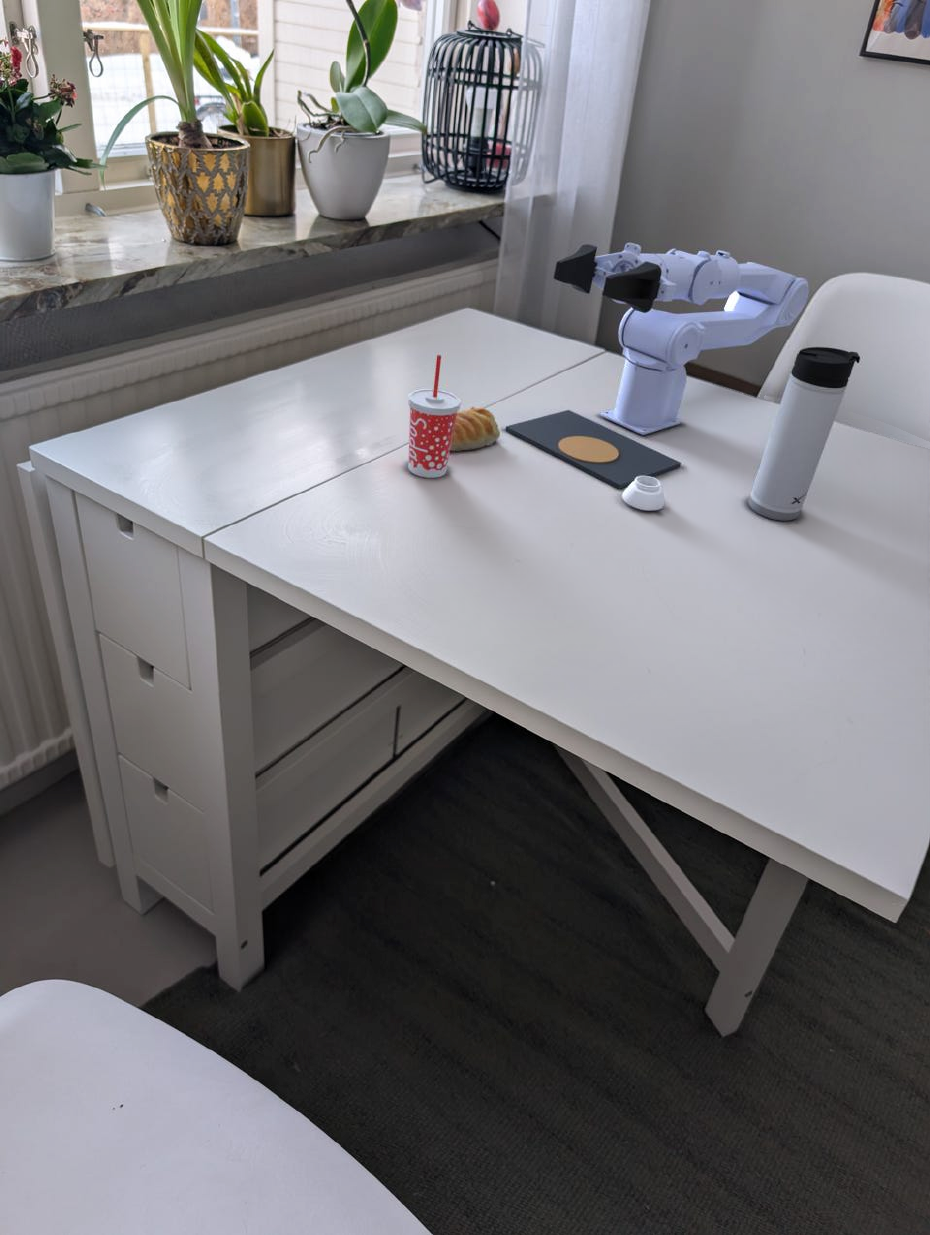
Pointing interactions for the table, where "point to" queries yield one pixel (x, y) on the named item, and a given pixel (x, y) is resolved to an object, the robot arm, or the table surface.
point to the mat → (593, 448)
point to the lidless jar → (644, 494)
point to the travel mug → (801, 431)
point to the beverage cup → (431, 428)
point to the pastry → (474, 429)
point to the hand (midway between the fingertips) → (581, 278)
